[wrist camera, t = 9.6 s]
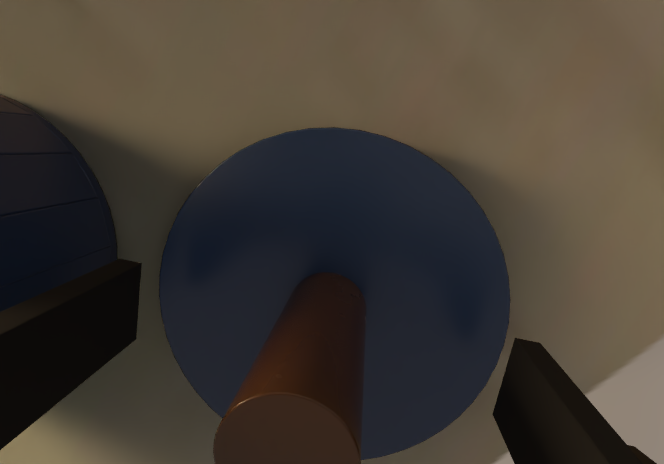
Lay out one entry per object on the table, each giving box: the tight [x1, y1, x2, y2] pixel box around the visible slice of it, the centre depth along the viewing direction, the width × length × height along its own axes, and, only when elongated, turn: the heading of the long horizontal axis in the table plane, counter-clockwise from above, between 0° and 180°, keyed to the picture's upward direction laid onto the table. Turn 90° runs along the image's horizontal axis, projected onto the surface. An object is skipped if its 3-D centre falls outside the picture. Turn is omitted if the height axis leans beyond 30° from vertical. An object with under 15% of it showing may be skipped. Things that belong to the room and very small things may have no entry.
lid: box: [159, 127, 510, 464], centre depth 13 cm, size 14×14×9 cm
